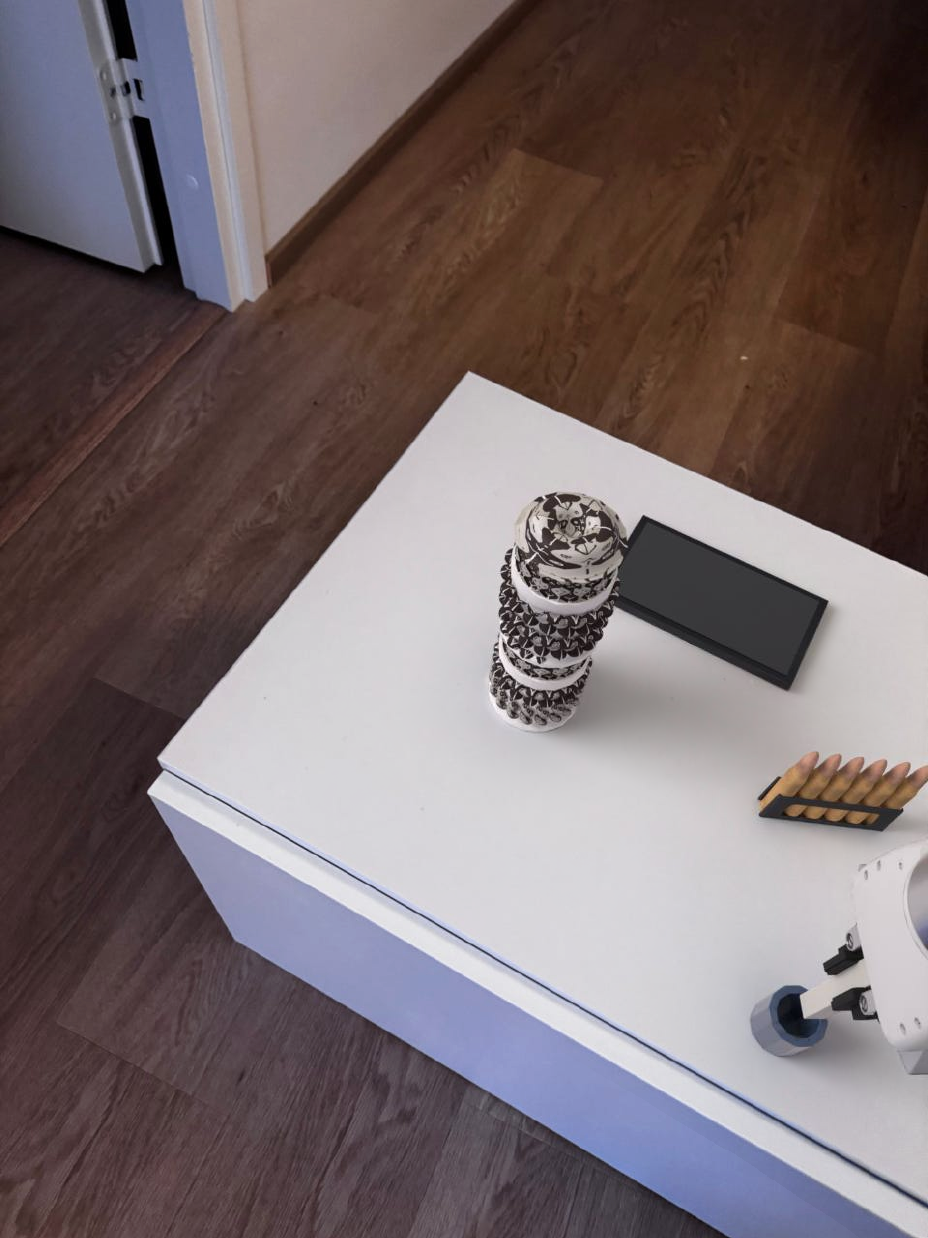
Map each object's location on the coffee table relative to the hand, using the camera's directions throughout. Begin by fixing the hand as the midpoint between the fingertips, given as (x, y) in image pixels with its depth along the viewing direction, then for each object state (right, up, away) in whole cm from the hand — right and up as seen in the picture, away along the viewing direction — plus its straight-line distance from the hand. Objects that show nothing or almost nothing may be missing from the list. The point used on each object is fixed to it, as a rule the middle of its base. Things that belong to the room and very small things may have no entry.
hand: (850, 986), depth 63 cm
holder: (-1, -8, +12) cm, 14 cm away
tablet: (-1, +25, +33) cm, 41 cm away
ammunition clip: (+6, +7, +21) cm, 23 cm away
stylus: (0, -4, +7) cm, 8 cm away
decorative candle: (-19, +17, +26) cm, 37 cm away
